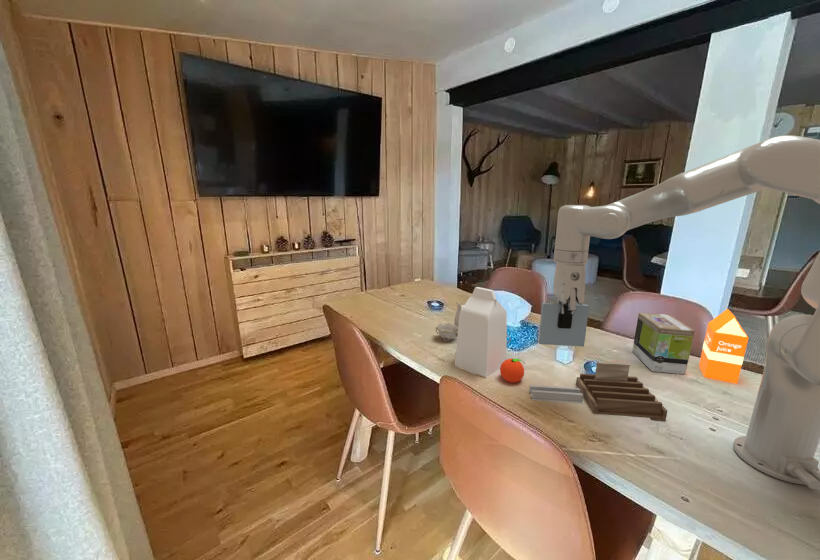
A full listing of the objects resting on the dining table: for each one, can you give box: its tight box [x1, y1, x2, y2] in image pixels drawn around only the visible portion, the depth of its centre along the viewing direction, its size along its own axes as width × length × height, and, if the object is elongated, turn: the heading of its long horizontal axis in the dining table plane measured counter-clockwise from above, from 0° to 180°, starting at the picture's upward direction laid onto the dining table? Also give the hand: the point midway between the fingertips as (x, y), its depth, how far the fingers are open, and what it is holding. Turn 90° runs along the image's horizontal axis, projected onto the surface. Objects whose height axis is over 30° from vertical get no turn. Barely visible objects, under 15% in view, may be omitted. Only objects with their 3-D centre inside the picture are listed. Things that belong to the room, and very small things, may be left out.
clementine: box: [499, 358, 526, 384], centre depth 103 cm, size 8×7×7 cm
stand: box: [528, 384, 584, 405], centre depth 94 cm, size 5×13×3 cm, turn 82°
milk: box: [454, 286, 508, 378], centre depth 109 cm, size 12×12×26 cm
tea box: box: [632, 312, 695, 375], centre depth 113 cm, size 15×10×15 cm
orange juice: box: [698, 308, 749, 384], centre depth 104 cm, size 8×9×20 cm
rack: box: [575, 360, 668, 422], centre depth 92 cm, size 14×17×9 cm
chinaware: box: [435, 301, 512, 344], centre depth 131 cm, size 28×17×17 cm, turn 78°
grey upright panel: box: [537, 302, 590, 348], centre depth 89 cm, size 1×11×11 cm, turn 82°
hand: (563, 326), depth 89 cm, fingers closed on grey upright panel, 1 cm apart
